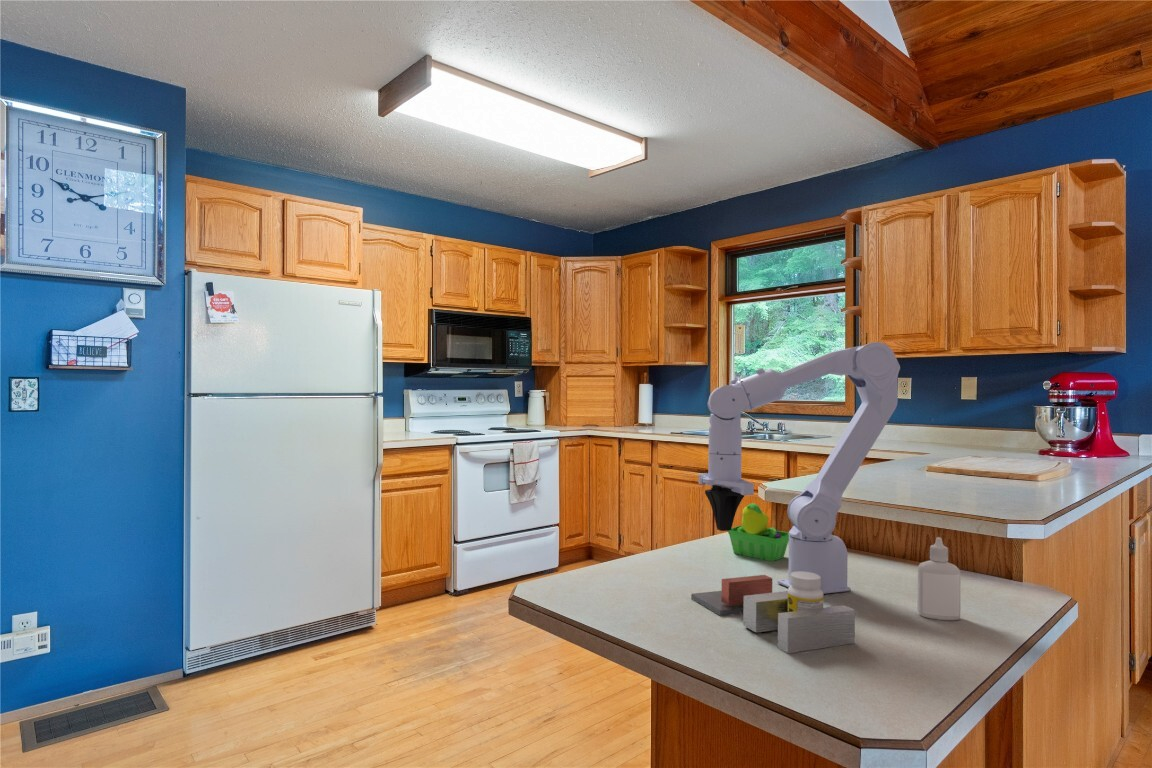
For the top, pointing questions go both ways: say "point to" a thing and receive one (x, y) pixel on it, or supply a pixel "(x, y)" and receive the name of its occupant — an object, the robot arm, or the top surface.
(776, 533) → the fruit basket
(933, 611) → the eye dropper bottle
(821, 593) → the supplement bottle
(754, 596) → the sliding jaw
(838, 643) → the bar
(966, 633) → the top surface
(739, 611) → the base
